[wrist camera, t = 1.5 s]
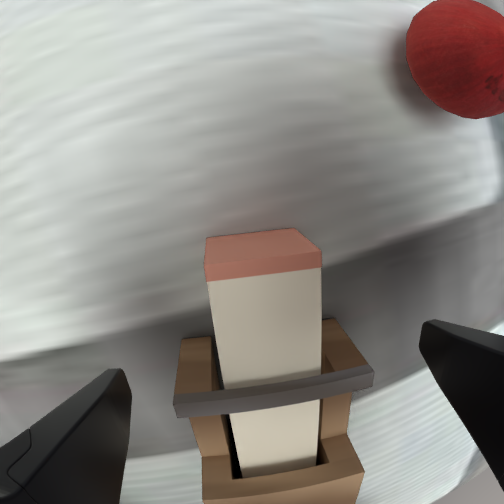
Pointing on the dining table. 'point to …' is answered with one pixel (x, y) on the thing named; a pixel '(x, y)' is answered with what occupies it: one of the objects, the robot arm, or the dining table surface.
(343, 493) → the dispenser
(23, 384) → the dining table surface
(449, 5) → the onion
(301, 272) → the pink-topped cream pillar
